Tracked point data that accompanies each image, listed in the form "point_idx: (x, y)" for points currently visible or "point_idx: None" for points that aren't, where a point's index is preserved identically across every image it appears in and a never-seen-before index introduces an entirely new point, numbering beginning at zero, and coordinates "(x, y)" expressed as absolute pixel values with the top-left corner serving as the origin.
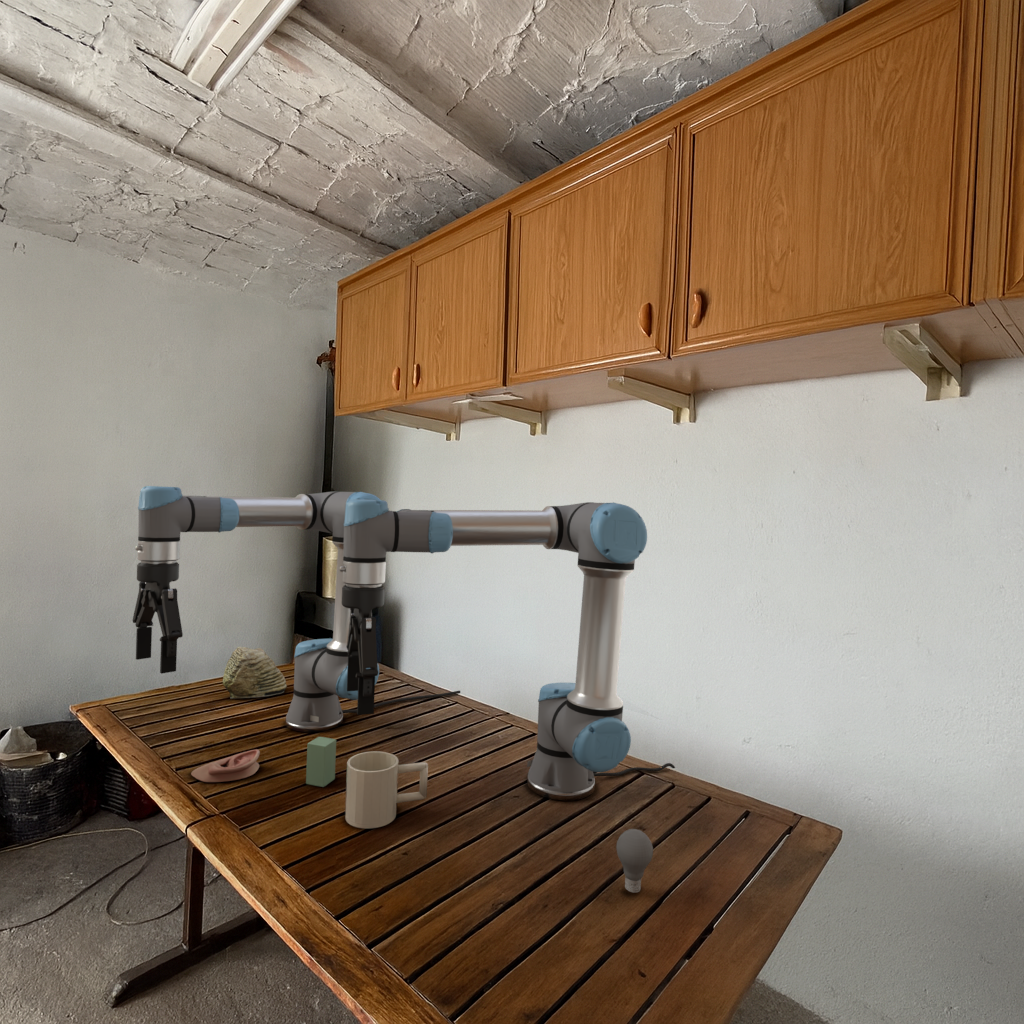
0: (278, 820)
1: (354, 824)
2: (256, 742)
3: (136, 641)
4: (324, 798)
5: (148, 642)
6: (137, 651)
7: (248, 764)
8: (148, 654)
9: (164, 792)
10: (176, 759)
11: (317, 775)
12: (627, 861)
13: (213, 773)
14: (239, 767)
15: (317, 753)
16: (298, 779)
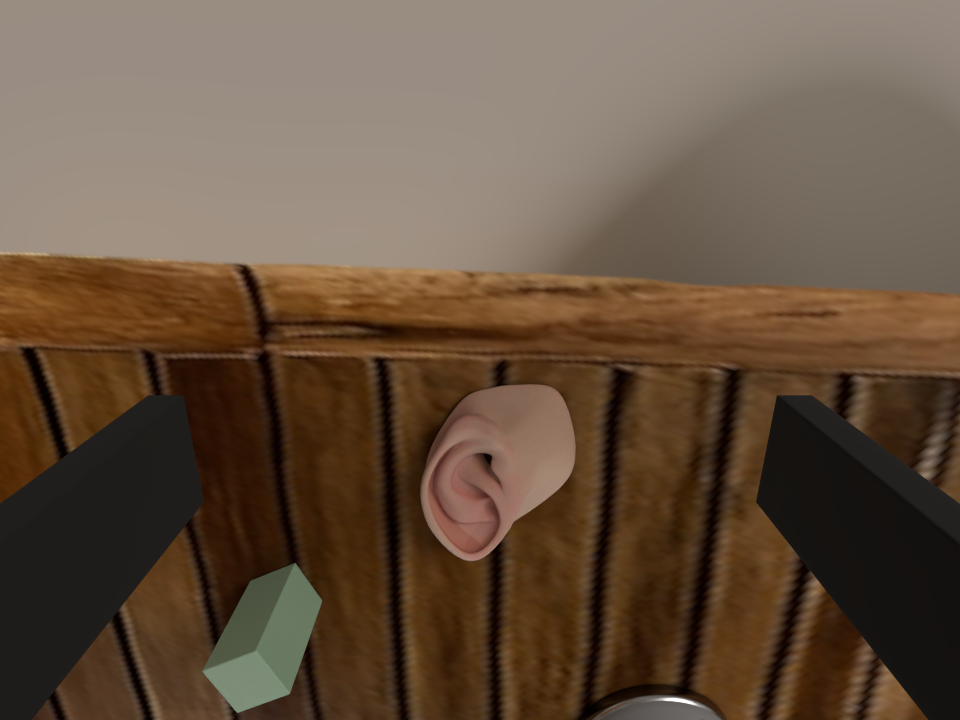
0: None
1: None
2: (638, 591)
3: (937, 493)
4: (192, 555)
5: (851, 584)
6: (819, 434)
7: (422, 505)
8: (777, 502)
9: (489, 290)
10: (694, 396)
11: (255, 594)
12: None
13: (454, 420)
14: (423, 481)
15: (234, 642)
16: (332, 562)
